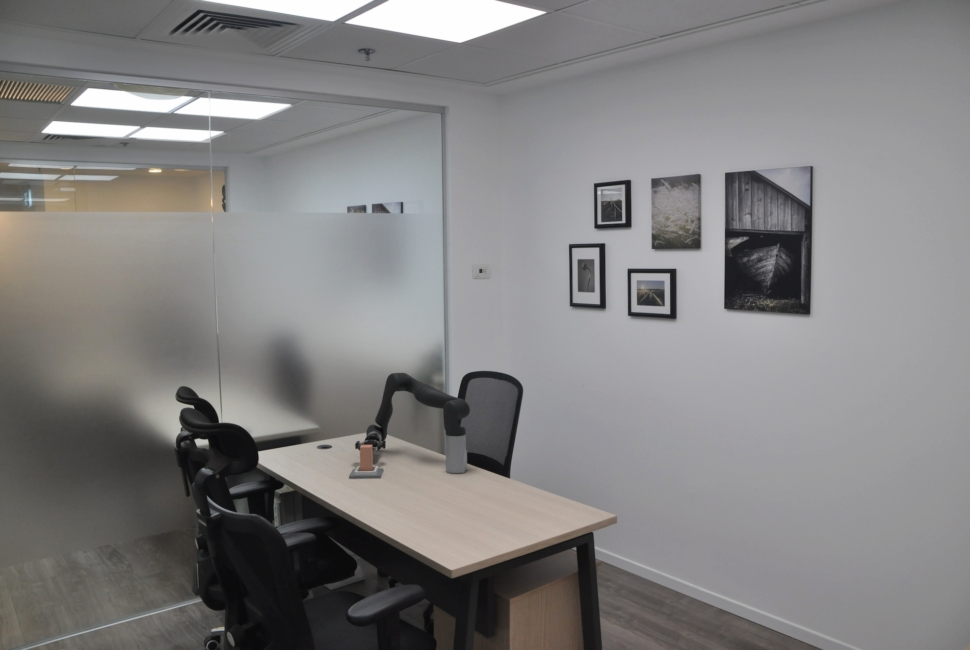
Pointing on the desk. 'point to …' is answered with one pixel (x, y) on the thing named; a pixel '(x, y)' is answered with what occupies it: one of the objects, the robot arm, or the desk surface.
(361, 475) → the baseplate
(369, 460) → the column
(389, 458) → the desk surface
